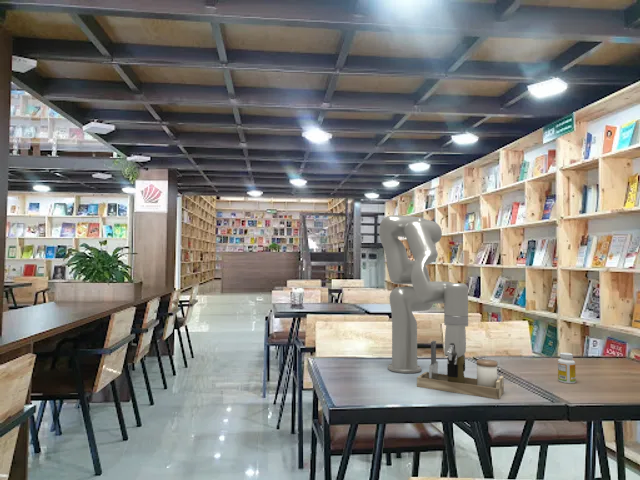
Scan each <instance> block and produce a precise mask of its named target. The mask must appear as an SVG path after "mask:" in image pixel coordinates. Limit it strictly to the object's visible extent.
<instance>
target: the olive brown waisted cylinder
mask: <svg viewBox="0 0 640 480" xmlns="http://www.w3.org/2000/svg"><path fill="white" fill-rule="evenodd" d="M454 360H455V358H454ZM464 362H465V363H466V358H465V359H464V357H463V356H461V357H459V358H458V360H457V365H458V377H457V378H455V377H448V381H449V382H456V383H463V384H465V378H464V377H465V373H464V372H465V371H463V364H464Z"/></svg>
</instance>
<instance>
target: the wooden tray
mask: <svg viewBox="0 0 640 480" xmlns="http://www.w3.org/2000/svg"><path fill="white" fill-rule="evenodd" d="M464 378H465V384H463V383H456V382H449V381H448V376H447V374H443V373H438V380H435V379H429V371H424V372H423V373H421V374H420V375H418V376H417V377H416V387H417V388H422V389H423V388H424V389H430V390H431V389H432V390H437V391H442V392H450V393H457V394H460V395H461V394H464V395H469V396H475V397H483V398H486V399H487V398H488V399H494V400H500V399H501V397H502V396H503V394H504V392H505V391H504V388H505V387H504V386H505V385H504V383H505V381H504V375H500V376H499V377H498V378H497V381H496V388H491V387H484V386H477V378H476V377H475V378H473V377H467V376H464Z"/></svg>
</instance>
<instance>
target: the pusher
mask: <svg viewBox="0 0 640 480" xmlns="http://www.w3.org/2000/svg"><path fill="white" fill-rule="evenodd" d="M428 369H429V370H428V372H429V379H435V380H438V374H439V361H437V341H436V340H432V341H431V342H430V363H429V364H428Z"/></svg>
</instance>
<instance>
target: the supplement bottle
mask: <svg viewBox="0 0 640 480" xmlns="http://www.w3.org/2000/svg"><path fill="white" fill-rule="evenodd" d="M573 355H574V354H573V353H570V352H559V357H560V358H559V359H557V379H558V381H559V382H560V383H563V384H576V381H577V380H576V379H577V377H576V376H577V375H576V361H575V360H573V359H574V356H573Z"/></svg>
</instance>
